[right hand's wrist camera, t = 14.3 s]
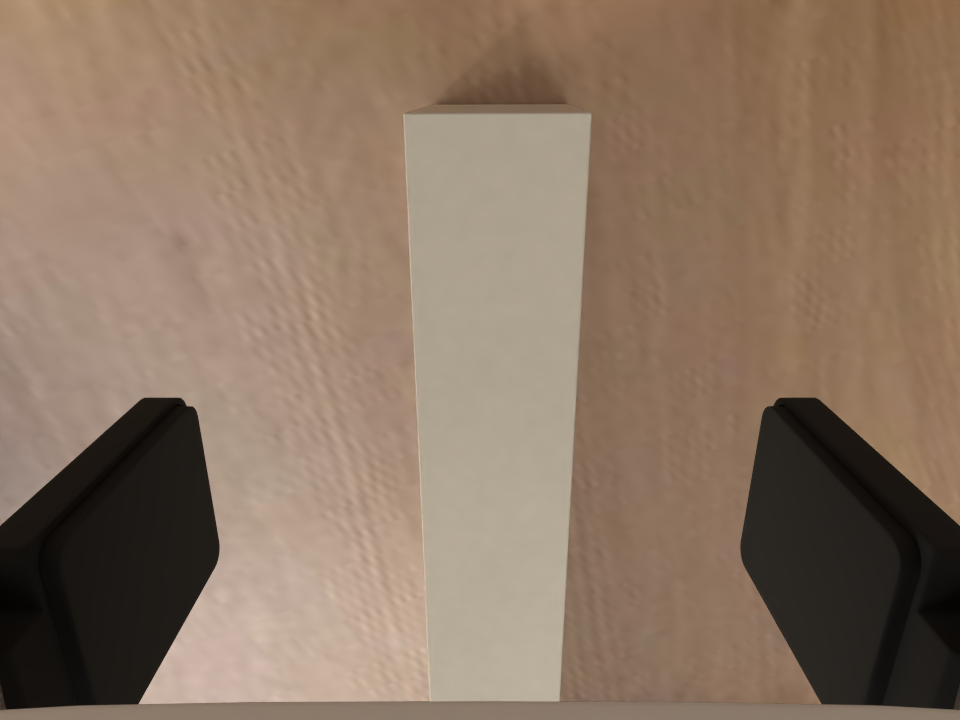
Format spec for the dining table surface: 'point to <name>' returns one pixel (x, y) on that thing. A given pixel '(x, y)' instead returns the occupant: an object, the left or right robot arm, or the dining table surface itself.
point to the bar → (496, 384)
